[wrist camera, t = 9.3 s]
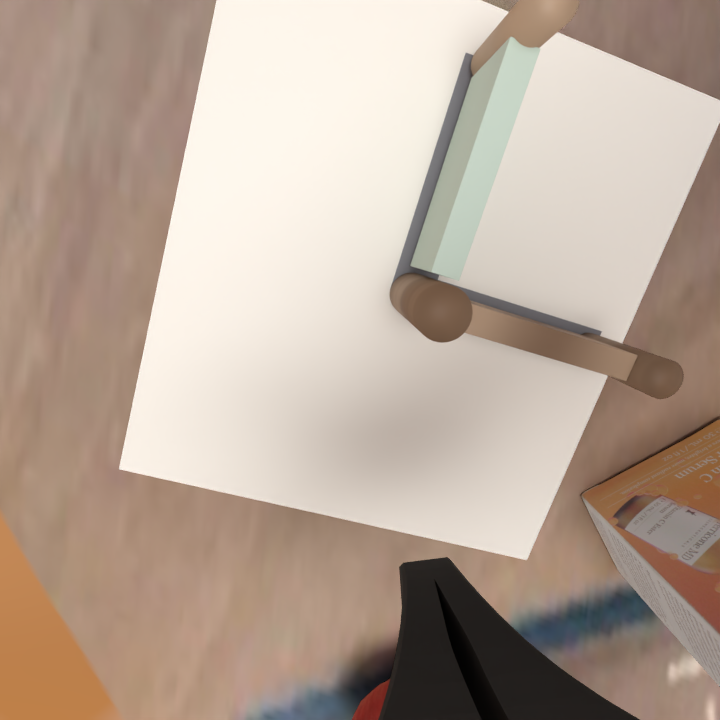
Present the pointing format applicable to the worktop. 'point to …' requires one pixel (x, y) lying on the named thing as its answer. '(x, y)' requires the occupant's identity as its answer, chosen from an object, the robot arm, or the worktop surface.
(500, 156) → the panel
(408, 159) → the card
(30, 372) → the worktop surface
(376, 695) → the onion
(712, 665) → the small box
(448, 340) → the fixed fence
